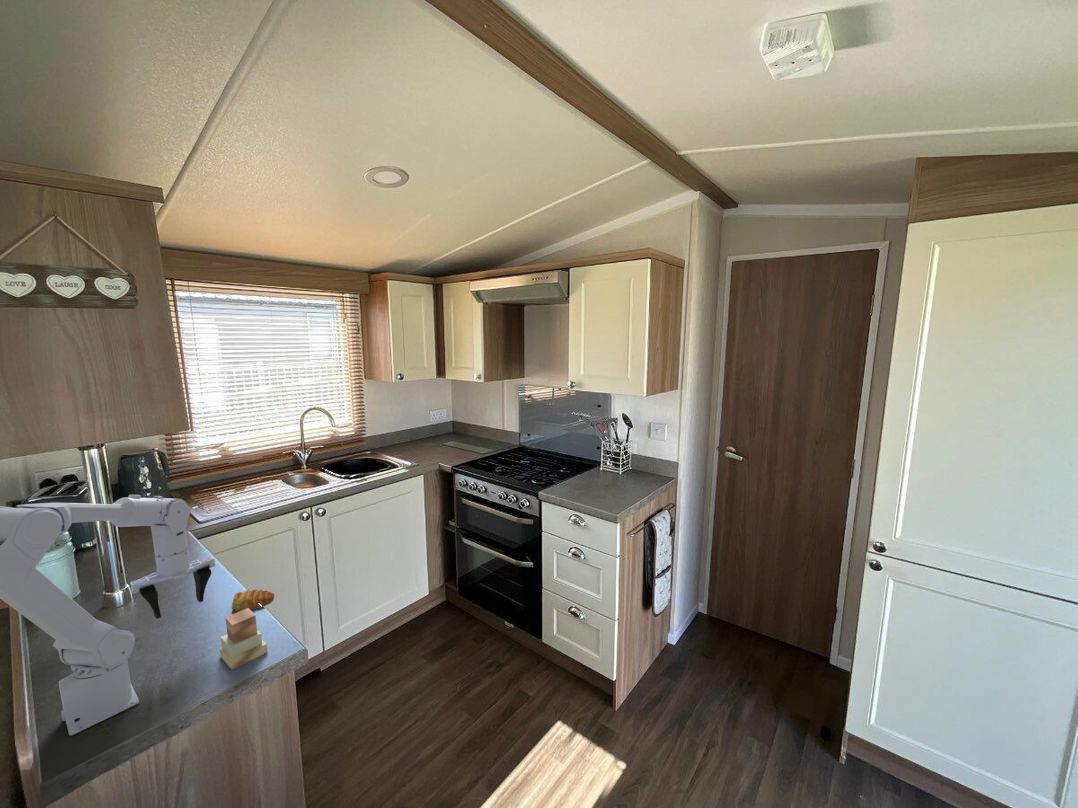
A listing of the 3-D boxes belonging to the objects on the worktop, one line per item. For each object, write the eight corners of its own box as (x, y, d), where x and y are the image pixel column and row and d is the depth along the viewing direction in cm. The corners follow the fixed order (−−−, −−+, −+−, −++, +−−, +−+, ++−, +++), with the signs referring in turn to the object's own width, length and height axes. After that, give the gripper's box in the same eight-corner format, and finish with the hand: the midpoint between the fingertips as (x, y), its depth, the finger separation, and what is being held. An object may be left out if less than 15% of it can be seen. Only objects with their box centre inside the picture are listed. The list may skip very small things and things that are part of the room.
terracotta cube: (234, 644, 97) (232, 625, 97) (227, 635, 100) (225, 617, 99) (257, 633, 101) (255, 615, 100) (250, 626, 103) (248, 607, 103)
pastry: (277, 595, 125) (276, 582, 124) (270, 608, 118) (269, 595, 118) (239, 601, 122) (237, 588, 122) (229, 615, 116) (228, 601, 115)
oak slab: (232, 672, 96) (230, 661, 95) (220, 658, 100) (219, 648, 100) (267, 654, 101) (266, 643, 101) (255, 641, 105) (254, 632, 105)
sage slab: (231, 658, 96) (230, 647, 96) (221, 647, 100) (220, 636, 100) (262, 643, 101) (261, 633, 101) (251, 633, 105) (250, 623, 104)
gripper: (132, 569, 91) (141, 631, 93) (216, 544, 102) (223, 599, 104) (124, 559, 95) (133, 619, 97) (206, 536, 106) (213, 589, 108)
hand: (179, 608), depth 101 cm, fingers open, 7 cm apart
